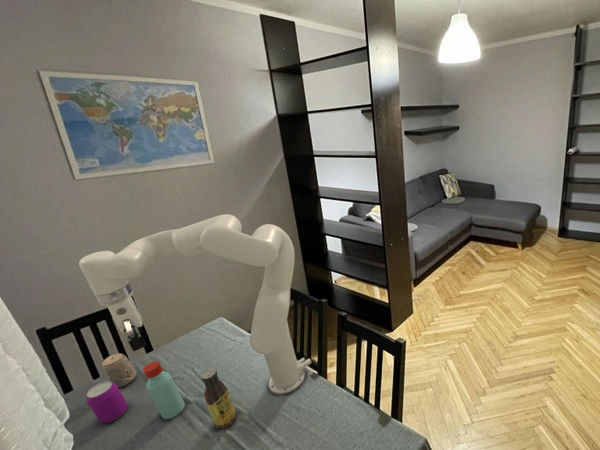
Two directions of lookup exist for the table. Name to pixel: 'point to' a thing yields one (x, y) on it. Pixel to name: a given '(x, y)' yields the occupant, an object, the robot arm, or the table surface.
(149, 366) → the cap
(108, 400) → the beverage can
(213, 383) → the sauce bottle
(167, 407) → the water bottle
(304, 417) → the table surface
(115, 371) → the carving
